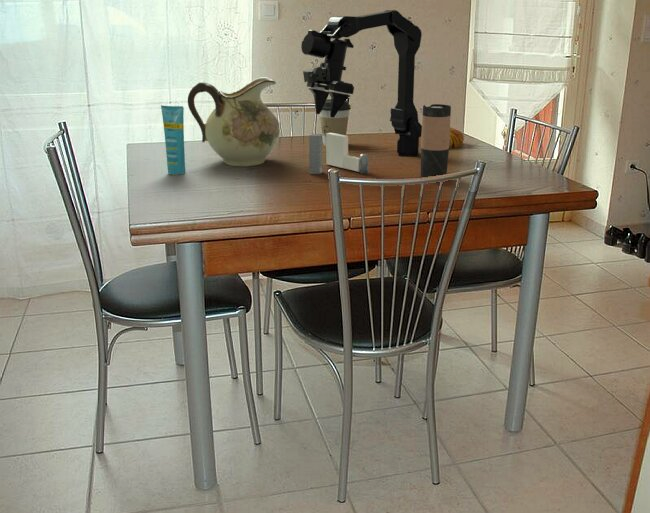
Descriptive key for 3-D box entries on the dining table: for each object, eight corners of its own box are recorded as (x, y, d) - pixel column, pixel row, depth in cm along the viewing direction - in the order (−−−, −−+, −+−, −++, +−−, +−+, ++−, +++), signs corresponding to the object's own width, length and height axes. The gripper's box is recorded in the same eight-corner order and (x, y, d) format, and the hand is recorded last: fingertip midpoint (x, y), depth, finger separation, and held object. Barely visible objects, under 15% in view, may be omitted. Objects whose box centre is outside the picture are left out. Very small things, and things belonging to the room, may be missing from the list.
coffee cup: (311, 146, 247) (310, 101, 242) (328, 141, 256) (328, 98, 251) (339, 149, 241) (340, 103, 237) (356, 144, 251) (357, 100, 246)
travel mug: (446, 182, 197) (450, 108, 190) (418, 181, 199) (421, 107, 192) (447, 176, 204) (451, 104, 198) (420, 175, 206) (423, 103, 199)
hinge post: (368, 172, 209) (368, 153, 207) (368, 174, 206) (368, 155, 204) (360, 172, 209) (360, 153, 207) (359, 174, 206) (359, 155, 205)
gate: (363, 170, 209) (363, 139, 206) (357, 171, 208) (358, 139, 205) (331, 163, 219) (331, 132, 216) (326, 163, 218) (326, 133, 215)
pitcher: (295, 161, 223) (293, 78, 214) (237, 174, 206) (232, 85, 198) (247, 152, 237) (243, 74, 229) (189, 164, 221) (182, 80, 213)
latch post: (322, 172, 209) (322, 134, 206) (319, 174, 206) (319, 135, 203) (312, 171, 210) (312, 133, 206) (309, 173, 207) (309, 135, 204)
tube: (161, 174, 207) (155, 106, 201) (169, 170, 211) (164, 103, 205) (184, 176, 205) (180, 107, 198) (192, 172, 209) (188, 105, 203)
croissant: (419, 154, 244) (419, 131, 241) (423, 140, 258) (423, 118, 254) (462, 155, 241) (463, 132, 238) (464, 141, 255) (465, 118, 251)
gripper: (295, 54, 212) (286, 108, 215) (324, 56, 196) (314, 114, 199) (328, 61, 217) (319, 114, 221) (359, 64, 202) (349, 120, 205)
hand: (324, 115), depth 211 cm, fingers open, 9 cm apart
